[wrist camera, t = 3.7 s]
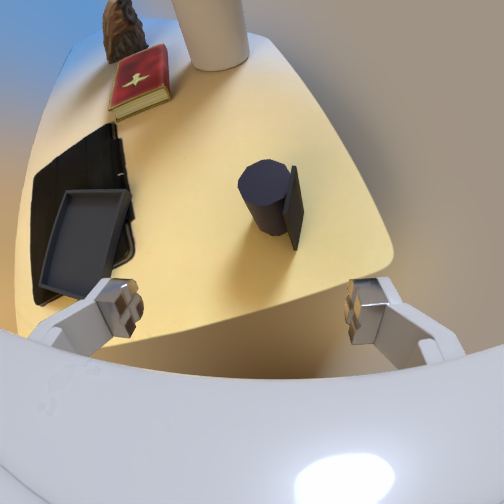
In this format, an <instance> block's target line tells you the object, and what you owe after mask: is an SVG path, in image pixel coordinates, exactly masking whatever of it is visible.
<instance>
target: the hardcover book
mask: <svg viewBox="0 0 504 504" xmlns="http://www.w3.org/2000/svg"><path fill="white" fill-rule="evenodd" d="M170 100H171V98H170V85H169V70H168V53H167V48H166V46H165V45H164V44H163V43H161V44H158V45H156V46H153V47H150V48H148V49H145V50H143V51H140V52H138V53H136V54H133V55H131V56H129V57H126V58H124V59H122V60H120V61H118V65H117V69H116V73H115V78H114V82H113V87H112V92H111V97H110V102H109V108H108V111H111V110H112V112H113V113H114V115H115V116H116V122H119V121H121V120H124V119H126V118H128V117H130V116H133V115H135V114H137V113H140V112H142V111H145V110H147V109H150V108H152V107H155V106H158V105H160V104H163V103H166V102H169V101H170Z"/></svg>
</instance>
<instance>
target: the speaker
mask: <svg viewBox="0 0 504 504" xmlns="http://www.w3.org/2000/svg"><path fill="white" fill-rule="evenodd" d="M238 189H239V191H240V193H241V195H242V198H243V200H244V201H245V203H246V205H247V207H248V209H249V211H250V212H251V214H252V216H253V218H254V220H255V221H256V223H257V225H258V227H259V229H260V230H261V231H263V232H265V233H267V234H269V235H271V236H280V235H282V234H284V233H286V232H288V233H289V236H290V239H291V242H292V246H293V249H294V250H296V251H297V248H298V243H299V238H300V232H301V227H302V221H303V215H304V209H303V203H302V197H301V191H300V185H299V179H298V173H297V168H296V166H292V169H291V174H290V172H289V171H288V169H287V168H286V166H285V164H282V163H279V162H276V161H273V160H271V159H267V160H261V161H259V162H256V163H254V164H252V165H250V166H248V167H247V168H246V169H245V171H244V172H243V174H242V175H241V177H240V178H239V180H238Z"/></svg>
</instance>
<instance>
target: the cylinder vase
mask: <svg viewBox="0 0 504 504" xmlns="http://www.w3.org/2000/svg"><path fill="white" fill-rule="evenodd" d="M172 3H173V6H174V9H175V12H176V15H177V19H178V22H179V25H180V28H181V31H182V34H183V37H184V40H185V43H186V46H187V49H188V52H189V55H190V58H191V61H192V64H193V65H194V67H196V68H197V69H199V70H203V71H221V70H226V69H229V68H232V67H235V66H237V65H239V64H241V63H242V62H243V61H245V60H246V59H247V57H248V55H249V45H248V38H247V31H246V24H245V18H244V11H243V4H242V0H172Z"/></svg>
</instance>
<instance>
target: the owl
mask: <svg viewBox="0 0 504 504" xmlns="http://www.w3.org/2000/svg"><path fill="white" fill-rule="evenodd" d="M142 26H143V25H142V22H141V21H140V20H139V19H138V18H137V14H136V13H135V10H134V9H133V8H132V1H131V0H109V1H108V3H107V5H106V8H105V10H104V14H103V34H104V41H103V43H104V47H105V51H106V57H107V60H108V61H109V64H111V63H114V62H117V61H120V60H122V59H124V58H126V57H129V56H131V55H133V54H136V53H138V52H140V51H143V50H145V49H147V48H148V47H149V45H146V44H147V43H146V41H145V34H144V32H143V30H142Z"/></svg>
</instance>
